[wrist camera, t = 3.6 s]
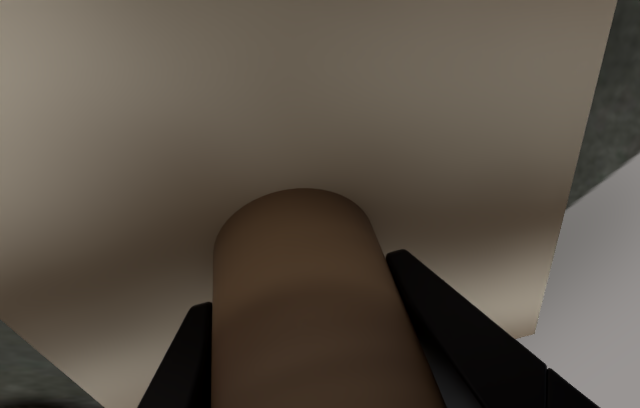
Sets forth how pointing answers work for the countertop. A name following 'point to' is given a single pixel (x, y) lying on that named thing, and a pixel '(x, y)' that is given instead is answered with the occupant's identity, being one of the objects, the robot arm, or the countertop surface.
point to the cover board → (282, 182)
